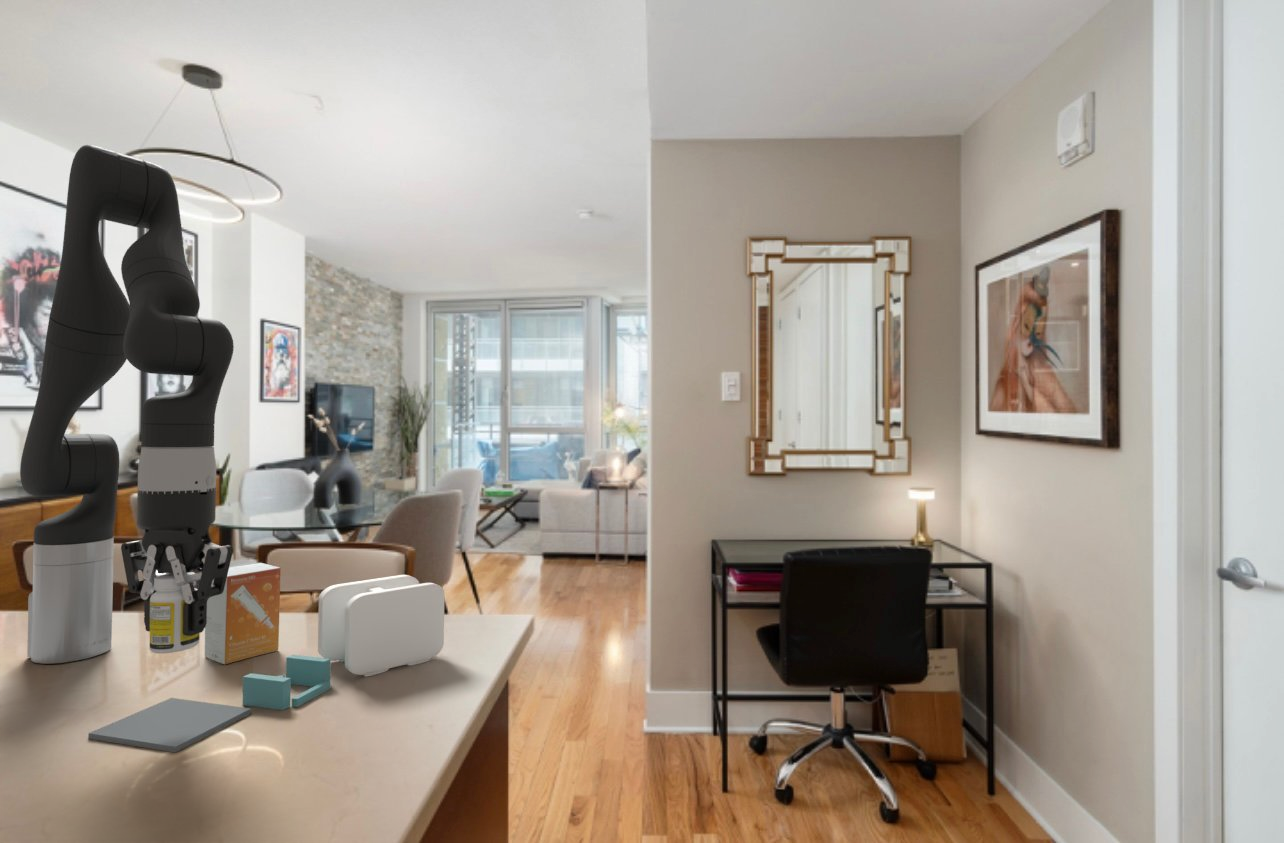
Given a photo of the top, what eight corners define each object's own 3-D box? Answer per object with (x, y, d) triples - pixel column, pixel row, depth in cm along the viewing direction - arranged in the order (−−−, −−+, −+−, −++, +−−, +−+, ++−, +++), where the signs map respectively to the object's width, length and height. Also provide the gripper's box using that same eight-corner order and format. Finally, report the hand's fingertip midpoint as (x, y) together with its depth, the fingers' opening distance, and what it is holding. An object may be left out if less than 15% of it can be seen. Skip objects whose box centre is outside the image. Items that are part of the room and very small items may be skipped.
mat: (88, 738, 74) (88, 733, 74) (171, 702, 84) (171, 697, 84) (175, 752, 71) (175, 746, 71) (250, 713, 81) (250, 708, 81)
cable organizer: (342, 684, 90) (343, 599, 90) (315, 663, 98) (317, 584, 98) (444, 659, 101) (445, 582, 101) (413, 642, 108) (414, 570, 108)
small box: (224, 666, 96) (226, 576, 97) (203, 657, 100) (205, 570, 100) (280, 650, 103) (281, 566, 103) (258, 642, 107) (260, 561, 107)
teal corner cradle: (235, 703, 83) (236, 675, 83) (286, 679, 92) (286, 653, 92) (289, 711, 82) (290, 682, 82) (336, 685, 90) (336, 659, 90)
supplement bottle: (197, 638, 81) (198, 569, 81) (201, 648, 77) (202, 576, 77) (148, 646, 78) (149, 574, 78) (150, 657, 74) (151, 581, 74)
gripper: (96, 486, 76) (94, 636, 75) (199, 490, 72) (196, 647, 72) (158, 481, 83) (156, 618, 83) (254, 485, 80) (252, 627, 79)
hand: (175, 631), depth 77 cm, fingers closed on supplement bottle, 4 cm apart
